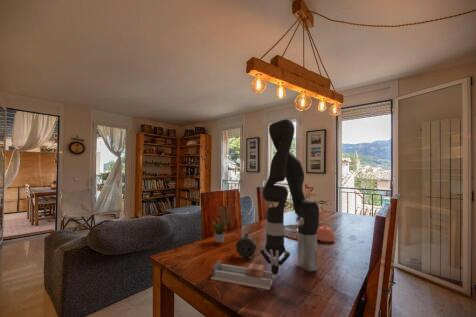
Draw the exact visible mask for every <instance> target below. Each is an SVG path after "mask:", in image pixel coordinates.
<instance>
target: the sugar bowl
mask: <svg viewBox="0 0 476 317" xmlns="http://www.w3.org/2000/svg"><path fill="white" fill-rule="evenodd" d="M334 240H336V237H335V234H334V231H333V229H332V228H330V227H329V226H327V225H325V224H324V225H322V226H320V227H319V226H318V229H317V241H320V242H321V243H332V242H334Z"/></svg>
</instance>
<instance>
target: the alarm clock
mask: <svg viewBox="0 0 476 317" xmlns="http://www.w3.org/2000/svg"><path fill="white" fill-rule="evenodd" d="M245 230H246V228H244V230H243V231H242V232H243V234H244V235H242V236H240V237H239V238H238V240H237V241H236V244H235V250H236V252H237V254H238V256H239V257H240V256H241V257H243V258H244V259H246V258H251V257H252V259H253V258H254V259H255V256H254V254H255V252H257V248H258V247H257V241H256V239H255V238H254V237H252V236H250V235H249V234H250V232H248V233H246V232H245Z"/></svg>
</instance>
